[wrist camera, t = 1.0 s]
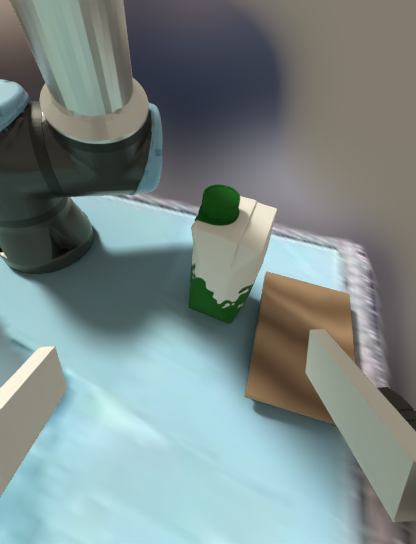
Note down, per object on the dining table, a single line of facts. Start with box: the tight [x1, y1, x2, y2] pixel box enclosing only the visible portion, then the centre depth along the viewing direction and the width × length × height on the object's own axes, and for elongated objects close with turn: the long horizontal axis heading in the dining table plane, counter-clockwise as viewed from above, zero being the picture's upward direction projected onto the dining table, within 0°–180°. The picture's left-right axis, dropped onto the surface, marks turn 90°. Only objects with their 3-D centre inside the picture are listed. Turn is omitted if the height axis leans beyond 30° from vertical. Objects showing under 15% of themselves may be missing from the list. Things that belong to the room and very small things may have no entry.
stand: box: [245, 272, 355, 426], centre depth 38 cm, size 20×14×3 cm
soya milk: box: [189, 185, 277, 324], centre depth 34 cm, size 9×9×20 cm
